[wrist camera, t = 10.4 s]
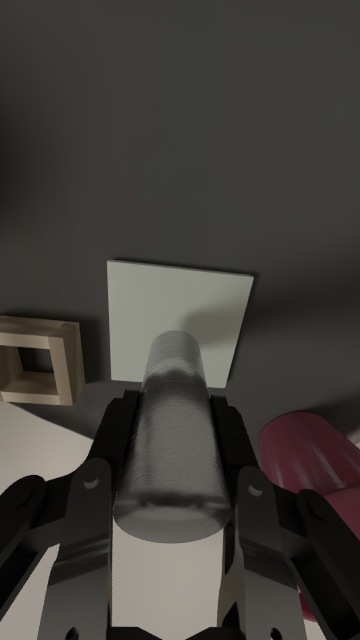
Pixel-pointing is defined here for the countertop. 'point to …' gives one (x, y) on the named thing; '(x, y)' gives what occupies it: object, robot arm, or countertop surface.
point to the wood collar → (66, 352)
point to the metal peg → (173, 451)
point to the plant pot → (313, 466)
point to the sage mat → (174, 314)
